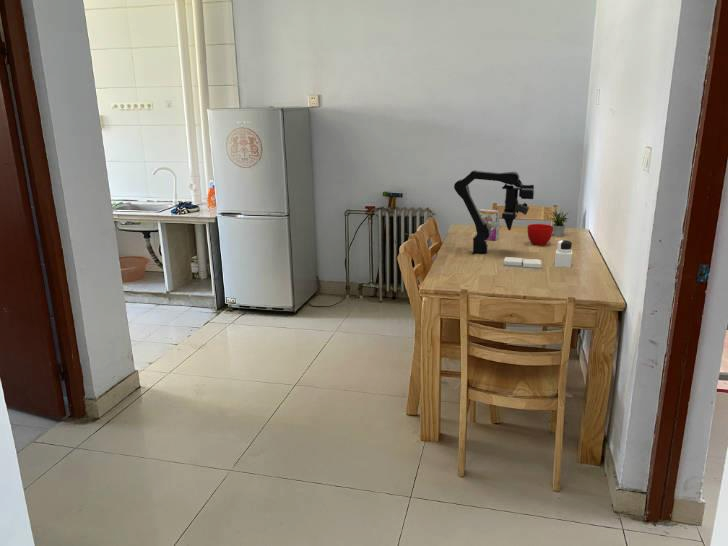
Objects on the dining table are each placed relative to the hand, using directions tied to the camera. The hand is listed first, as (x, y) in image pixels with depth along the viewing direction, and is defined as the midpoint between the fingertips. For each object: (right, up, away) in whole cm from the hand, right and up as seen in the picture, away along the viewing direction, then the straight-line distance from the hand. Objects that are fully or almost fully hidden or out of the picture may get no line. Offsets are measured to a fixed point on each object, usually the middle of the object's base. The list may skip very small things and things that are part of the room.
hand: (509, 229), depth 281 cm
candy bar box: (-2, -2, +39) cm, 39 cm away
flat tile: (+6, -18, -17) cm, 26 cm away
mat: (+3, -17, -13) cm, 22 cm away
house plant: (+38, 0, +46) cm, 60 cm away
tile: (-1, -15, -11) cm, 18 cm away
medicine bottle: (+20, -18, -17) cm, 32 cm away
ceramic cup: (+24, -6, +27) cm, 36 cm away
